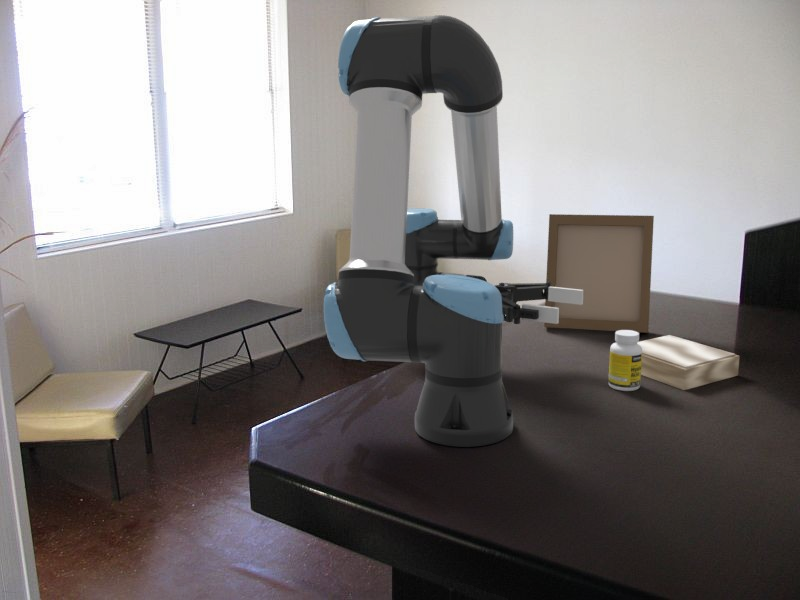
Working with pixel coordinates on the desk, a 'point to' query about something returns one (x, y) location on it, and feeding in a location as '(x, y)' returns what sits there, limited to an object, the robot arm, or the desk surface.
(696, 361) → the pedestal
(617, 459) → the desk surface
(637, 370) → the supplement bottle
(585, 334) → the desk surface
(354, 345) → the robot arm
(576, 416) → the desk surface
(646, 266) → the photo frame
